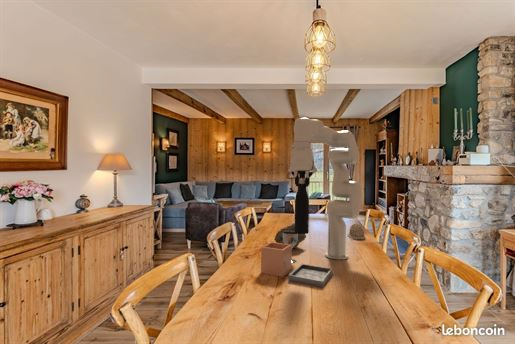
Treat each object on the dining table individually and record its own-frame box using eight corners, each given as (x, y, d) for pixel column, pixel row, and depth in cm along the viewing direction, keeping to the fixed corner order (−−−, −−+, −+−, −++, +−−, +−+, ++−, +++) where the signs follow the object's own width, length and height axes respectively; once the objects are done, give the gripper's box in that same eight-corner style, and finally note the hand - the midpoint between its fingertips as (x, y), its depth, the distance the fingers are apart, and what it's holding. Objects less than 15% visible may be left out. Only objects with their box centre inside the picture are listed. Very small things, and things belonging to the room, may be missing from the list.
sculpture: (363, 235, 225) (363, 221, 225) (366, 240, 209) (366, 225, 209) (346, 234, 228) (346, 220, 228) (348, 239, 211) (348, 224, 211)
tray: (301, 268, 148) (301, 263, 148) (332, 274, 141) (332, 268, 141) (288, 280, 132) (288, 275, 132) (322, 287, 125) (322, 281, 125)
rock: (295, 218, 193) (291, 217, 178) (310, 236, 188) (307, 237, 174) (273, 236, 195) (267, 237, 180) (287, 255, 190) (282, 257, 176)
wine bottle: (293, 231, 142) (293, 166, 141) (306, 230, 142) (307, 166, 142) (295, 234, 135) (296, 166, 135) (310, 234, 136) (310, 166, 135)
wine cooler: (270, 265, 152) (270, 241, 152) (291, 269, 147) (291, 244, 147) (260, 272, 142) (261, 247, 142) (282, 276, 137) (283, 250, 137)
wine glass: (296, 263, 156) (297, 234, 156) (281, 262, 157) (281, 233, 157) (298, 259, 164) (298, 231, 163) (283, 258, 165) (283, 230, 165)
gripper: (282, 145, 138) (281, 186, 139) (318, 145, 131) (317, 187, 131) (288, 146, 145) (288, 185, 146) (323, 146, 137) (322, 186, 138)
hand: (302, 185), depth 138 cm, fingers closed on wine bottle, 3 cm apart
